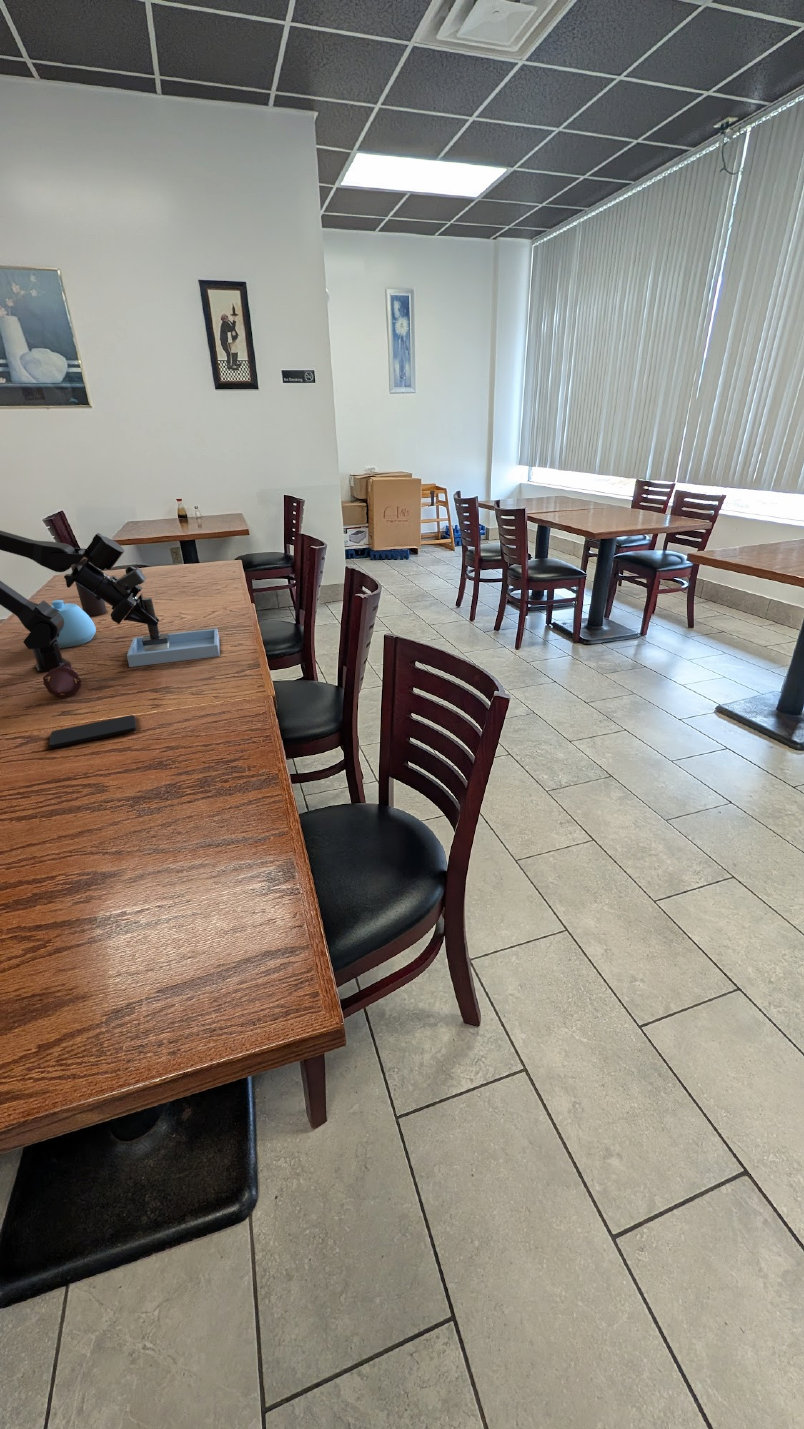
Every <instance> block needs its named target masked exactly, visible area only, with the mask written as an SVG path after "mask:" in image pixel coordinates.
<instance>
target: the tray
mask: <svg viewBox="0 0 804 1429" xmlns="http://www.w3.org/2000/svg"><path fill="white" fill-rule="evenodd" d="M218 630H219V629H218V628H209V629H199V630H190V631H183V632H182V631H181V632H175V633H168V636H169V648H168V649H164V650H156V651H147V652H145V648H144V646H143V644H142V639H143V637H144V636H138V637H133V638H132V641H131V644H130V646H129V648H128V651H127V654H126V659H127V664H128V668H134V667H135V668H136V667H142V666H149V665H158V664H165V663H166V664H167V663H174V662H182V661H183V662H184V661H191V660H200V659H206V658H207V659H208V658H216V657H220V636H219V631H218Z"/></svg>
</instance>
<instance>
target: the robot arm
mask: <svg viewBox="0 0 804 1429" xmlns="http://www.w3.org/2000/svg"><path fill="white" fill-rule="evenodd" d="M0 551H3V552H6V553H10V554H13V555H17V556H20V557H23V558H27V559H29V560H31V561H34V562H35V563H37V564H38V565H40V566H42V567H43V568H46V569H48V570H51V571H52V572H56V573H64V572H66V571H69V570H70V569H72V567H73V566H74V565H75V564H77V563H79V562H81V561H82V560H83V559H85V558H87V559H88V560H87V561H86V562H85V564H84V565H83V566H80V565H77V566H76V567H75V569H74V570H73V571H72V570H71V572H70V573H66V574H65V575H63V578H64V580H65V585H66V588H68V589H70V588H71V587H72V586H73V585H74V583H75V582H76V583H78V584H79V585H81V586H82V587H84V588H85V589H87V590H88V591H90V592H91V593H93V592H94V593H93V594H94V595H96V599H97V600H100V599H102V600H103V601H104V602H105V604H108V605H109V606H110V607H111V610H112V611H111V612H110V613H109V614H110V619H111V620H112V621H113V622H114V623H117V624H118V625H120V624H121V623H122V622H123V621H125V622H127V621H128V622H134V623H139V624H144V625H147V624H148V625H153V626H157V625H158V624H159V621H160V619H159V617H158V616H156V620H157V621H156V620H155V619H154V618H153V617H152V616H151V615H150V614H148V613H147V612H146V611H145V610H144V609H143V604H142V600H141V599H143V598H144V596H143V592H142V593H140V592H141V591H142V590H143V587H142V586H141V585H142V584H143V583H145V582H146V580H147V577H146V576H145V574H143V570H142V569H140V568H139V567H138V566H137V567H135V566H133V565H129V566H127V567H126V568H125V574H123V575H122V576H120V577H117V576H116V575H111V576H110V575H108V574H107V573H106V572H104V571H105V570H112V569H113V567H114V566H115V565H116V563H117V562H118V561H119V559H120V558H121V557H122V556H123V554H124V553H125V549H124V548H123V546H122V545H121V544H119V543H118V542H116V541H115V540H114V539H111V538H109V537H107V536H104V535H102V534H101V533H100V532H97V533H96V534H95V535H94V536H93V537H92V540H91V542H90V543H89V544H88V546H87V547H86V548H84V547H83V548H80V547H73V546H72V545H70V544H68V543H64V542H58V541H49V540H37V539H31V538H28V537H24V536H20V535H17V534H15V533H11V532H8V531H4V530H1V529H0ZM89 562H90V563H89ZM92 564H93V565H92ZM76 583H75V584H76ZM139 593H140V594H139ZM138 594H139V596H138ZM0 606H1V607H3V608H4V609H6V610H8V612H10V613H11V614H13V615H15V616H16V617H17V618H18V620H19V622H20V623H21V624H22V625H23V627H24V628H25V629H26V630H27V631H28V632H29V633H28V635H27V636H26V637H25V639H24V640H23V641H22V642H23V644H24V646H26V648H27V649H28V650H32V652H33V655H34V659H35V661H36V663H34V665H35V668H36V670H37V672H38V673H43V672H49V671H50V670H51V669H54V668H57V667H62V664H63V663H65V662H67V661H66V660H65V658H64V657H63V654H62V652H61V648H59V645H58V641H57V640H56V639H57V638H58V637H59V634H60V631H61V630H62V629H63V627H64V620H63V617H62V616H61V615H60V614H59V613H58V612H59V610H57V609H54V608H53V607H51V606H52V605H51V604H49V603H48V602H47V601H46V600H42V601H41V602H39V603H37V602H33V601H31V600H29V599H28V598H26V597H25V596H23V595H22V594H20V593H19V592H17V591H16V590H15V589H13V588H12V587H11V586H9V585H8V584H6V583H5V582H3V581H2V580H0Z"/></svg>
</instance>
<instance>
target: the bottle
mask: <svg viewBox="0 0 804 1429" xmlns="http://www.w3.org/2000/svg"><path fill="white" fill-rule="evenodd" d="M87 560H88V559H87V558H85V559H83V560H82V561H81V562H79V563H77V564H75V565H74V566H73V567H71V572H72V571H73V570H74V569H75V567H76V566H77V565H80V566H83V565H84V564H85V562H86V561H87ZM89 563H90V562H89ZM92 565H93V564H92ZM74 583H75V588H76V591H77V594H78V597H79V598H78V599H79V601H80V604H81V609H82V610H83V611H84V612H85V613H86V614H87V615H88V616H89V617H97V616H102V615H104V614H106V613H107V612H108V610H107V606H106V602H105V601H103V600H102V599H100V600H97V599H96V595H94V594H93V593H94V592H93V593H91V592H90V591H88V590H87V589H85V588H84V587H82V586H81V585H79V584H78V583H76V582H74Z"/></svg>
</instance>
